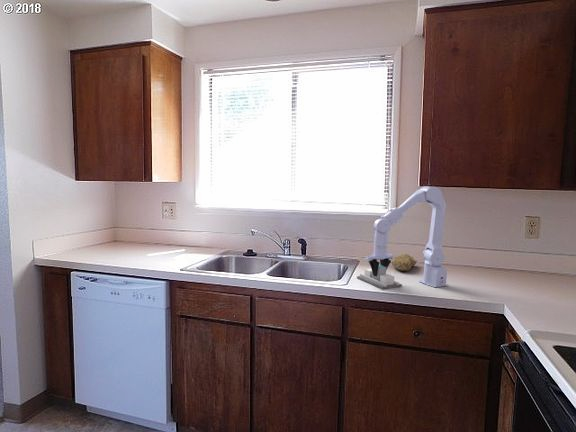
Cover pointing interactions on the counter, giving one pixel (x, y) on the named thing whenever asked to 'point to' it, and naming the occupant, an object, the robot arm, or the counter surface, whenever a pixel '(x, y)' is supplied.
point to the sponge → (403, 262)
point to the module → (379, 272)
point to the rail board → (384, 282)
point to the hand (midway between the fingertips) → (378, 275)
